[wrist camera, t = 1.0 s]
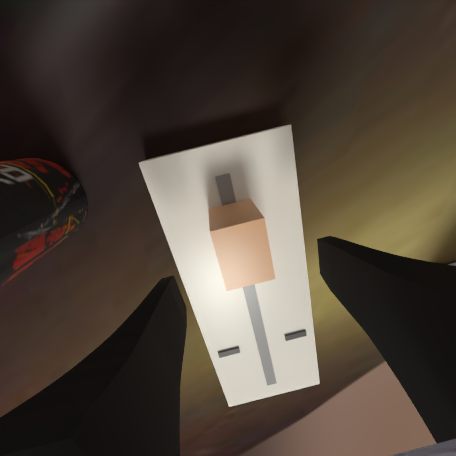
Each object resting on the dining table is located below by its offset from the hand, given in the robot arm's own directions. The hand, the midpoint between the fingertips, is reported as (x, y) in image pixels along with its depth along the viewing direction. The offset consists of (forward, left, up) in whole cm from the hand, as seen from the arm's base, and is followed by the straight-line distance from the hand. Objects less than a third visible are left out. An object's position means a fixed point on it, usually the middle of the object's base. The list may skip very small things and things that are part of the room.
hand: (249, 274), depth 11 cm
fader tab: (0, 0, -6) cm, 6 cm away
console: (0, +7, -8) cm, 11 cm away
